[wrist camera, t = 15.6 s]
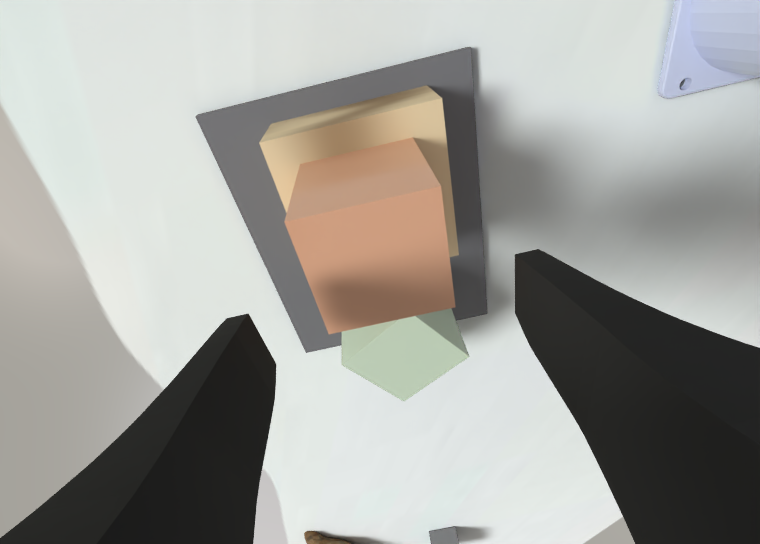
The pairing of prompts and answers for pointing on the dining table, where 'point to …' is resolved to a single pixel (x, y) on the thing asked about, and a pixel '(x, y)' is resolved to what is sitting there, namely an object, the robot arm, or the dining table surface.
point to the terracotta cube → (371, 236)
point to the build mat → (252, 119)
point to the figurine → (321, 539)
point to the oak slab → (364, 140)
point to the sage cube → (405, 351)
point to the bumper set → (444, 536)
